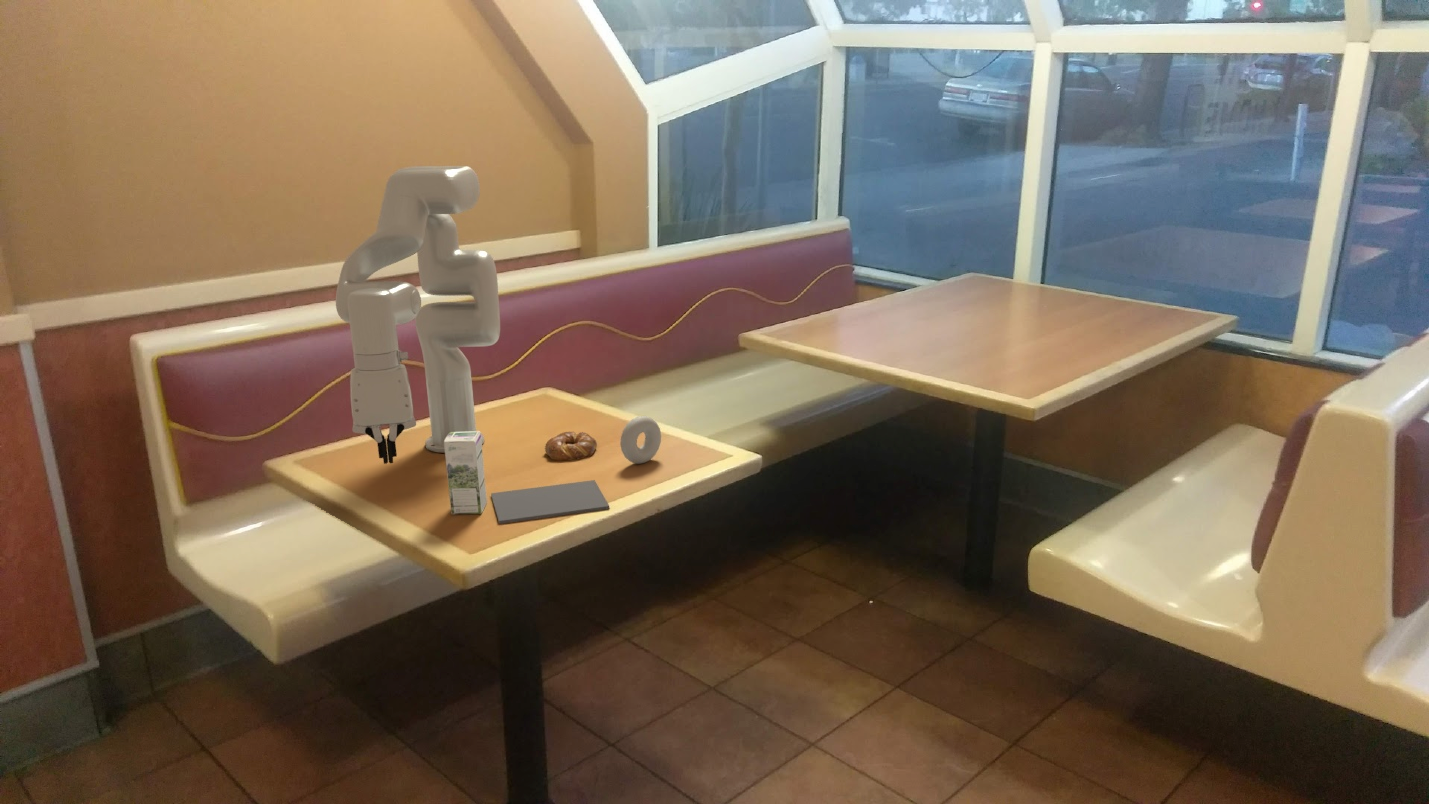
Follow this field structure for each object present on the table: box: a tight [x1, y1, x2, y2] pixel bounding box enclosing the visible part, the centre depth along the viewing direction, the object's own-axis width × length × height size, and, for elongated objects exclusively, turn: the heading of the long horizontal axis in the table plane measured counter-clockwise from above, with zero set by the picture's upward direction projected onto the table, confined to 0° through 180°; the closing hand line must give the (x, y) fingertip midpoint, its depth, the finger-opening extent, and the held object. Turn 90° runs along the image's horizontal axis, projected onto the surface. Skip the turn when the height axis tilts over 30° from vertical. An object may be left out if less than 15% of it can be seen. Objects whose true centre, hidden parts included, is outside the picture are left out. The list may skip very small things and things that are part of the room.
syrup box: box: [444, 430, 488, 515], centre depth 185 cm, size 6×6×14 cm
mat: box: [490, 479, 610, 525], centre depth 189 cm, size 14×20×1 cm
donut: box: [619, 415, 662, 465], centre depth 208 cm, size 10×4×10 cm, turn 135°
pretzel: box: [544, 431, 598, 462], centre depth 216 cm, size 12×11×4 cm
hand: (388, 460), depth 179 cm, fingers closed
